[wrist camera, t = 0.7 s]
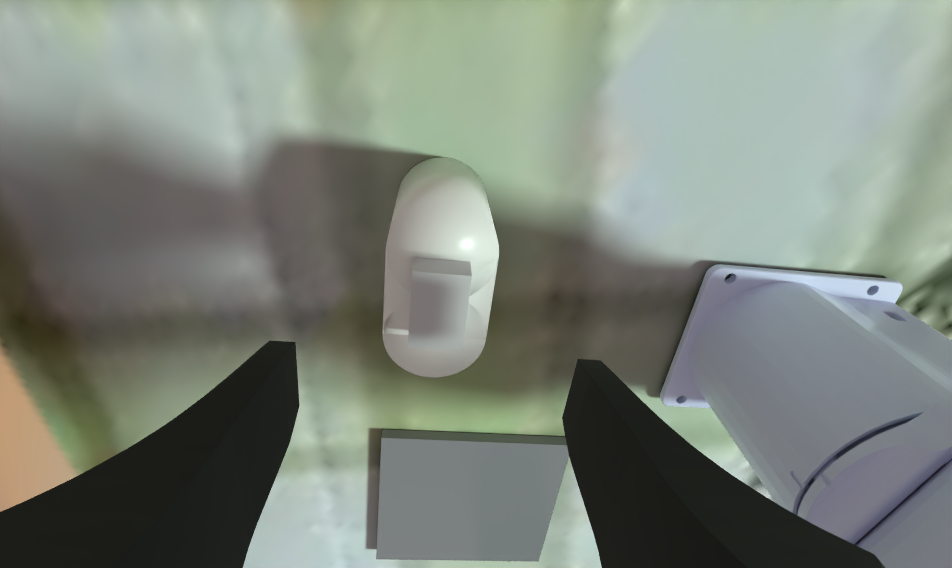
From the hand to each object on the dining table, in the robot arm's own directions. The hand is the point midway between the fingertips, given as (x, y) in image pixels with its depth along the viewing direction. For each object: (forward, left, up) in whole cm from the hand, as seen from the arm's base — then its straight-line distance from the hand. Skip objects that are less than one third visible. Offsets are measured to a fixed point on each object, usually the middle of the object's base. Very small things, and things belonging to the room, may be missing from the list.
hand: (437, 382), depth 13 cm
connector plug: (0, 0, -9) cm, 9 cm away
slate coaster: (-3, +16, -9) cm, 19 cm away
